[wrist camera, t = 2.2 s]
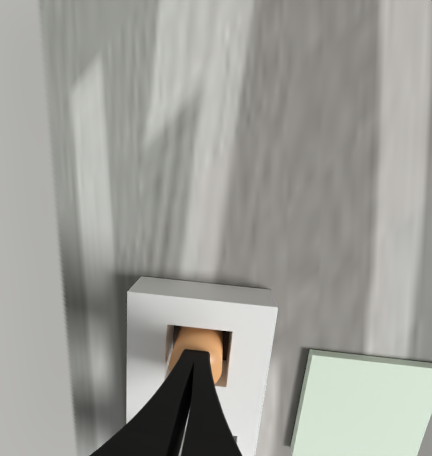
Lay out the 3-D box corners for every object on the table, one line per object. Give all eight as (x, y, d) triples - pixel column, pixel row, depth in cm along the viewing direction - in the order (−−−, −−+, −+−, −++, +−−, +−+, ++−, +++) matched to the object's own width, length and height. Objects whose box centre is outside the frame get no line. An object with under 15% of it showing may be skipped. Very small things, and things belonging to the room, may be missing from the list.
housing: (242, 486, 17) (244, 525, 15) (137, 472, 17) (125, 508, 16) (271, 289, 14) (277, 307, 12) (141, 276, 14) (127, 291, 12)
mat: (406, 461, 16) (411, 470, 15) (290, 447, 16) (292, 455, 16) (438, 363, 14) (446, 370, 14) (309, 349, 15) (312, 355, 14)
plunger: (220, 360, 15) (219, 392, 12) (177, 355, 15) (167, 386, 12) (225, 320, 14) (224, 347, 12) (179, 315, 14) (170, 341, 12)
